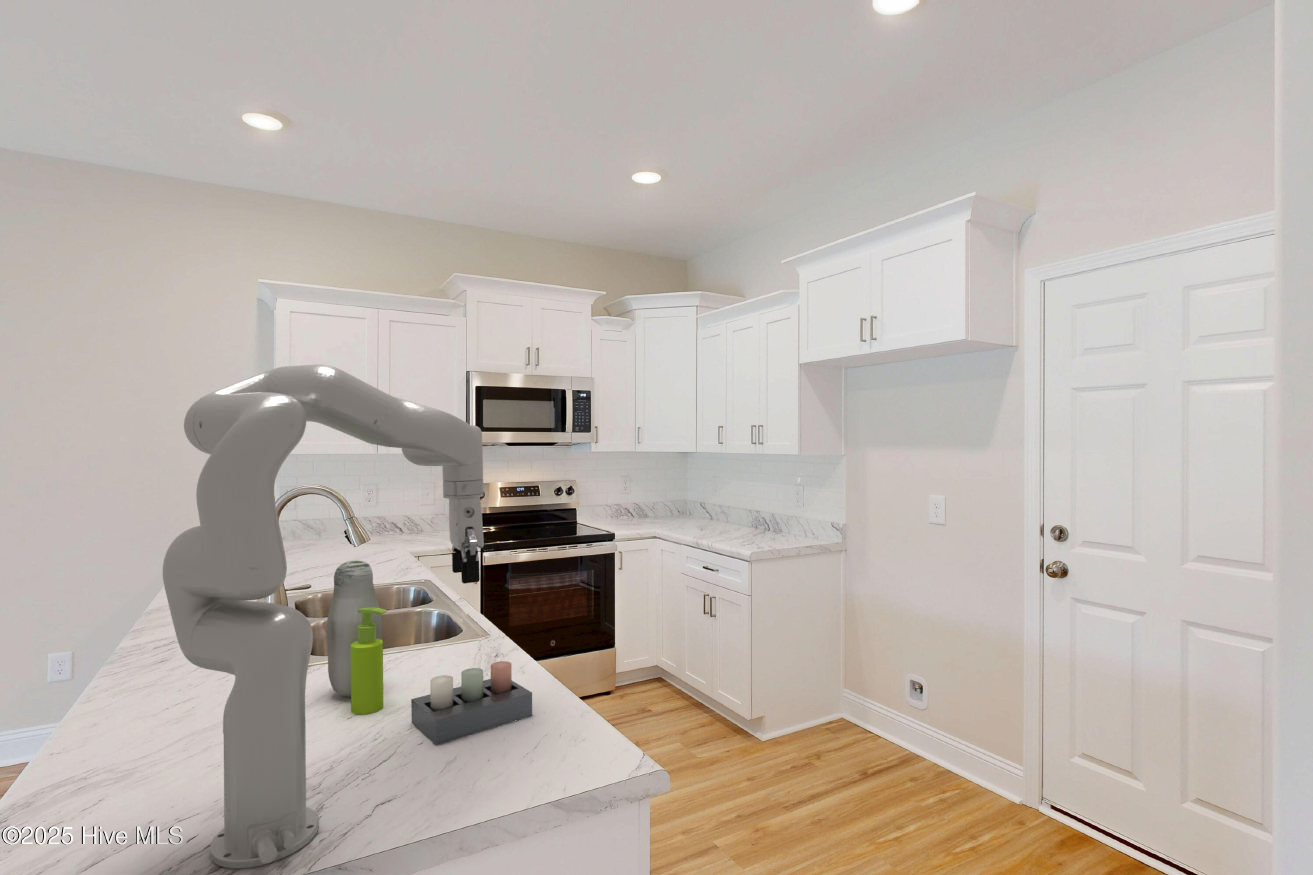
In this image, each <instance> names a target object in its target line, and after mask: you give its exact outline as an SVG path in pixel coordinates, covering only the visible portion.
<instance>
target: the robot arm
mask: <svg viewBox="0 0 1313 875" xmlns="http://www.w3.org/2000/svg"><path fill="white" fill-rule="evenodd" d="M307 422H312V423H313V422H314V423H317V424H320V425H324V426H326V427H328V428H331V429H333V430H336V431H338V432H340V433H343V434H345V435H349V436H350V437H353V438H354V439H359V440H360V441H363V442H364V443H368V444H371V445H374V446H375V445H376V446H381V447H385V448H398V449H401V452H402V454H403V457H404V458H405V459H406V460H407V461H408V462H410V463H412V464H413V465H416V466H422V467H442V469H441V470H442V494H443V495H442V497H443V499H448V520H449V522H448V526H449V528H448V530H449V540H450V543H451V545H452V548H451V549H452V553H451V566H452V568H451V569H452V573H454V574H455V573H456V574H459V573H461V583H462V584H471V583H478V582H480V559H479V558H480V556H479V551H478V550H479V549H482V548H483V547H484V544H485V542H484V541H485V540H484V528H483V513H482V505H481V504H482V503H481V497H484V494H485V493H484V461H483V460H484V458H483V456H484V455H483V453H484V452H483V451H484V450H483V433H482V432H483V431H482V430H481V428H480V427H479V426H477V425H470V424H469V423H468V422H467V421H464V420H463V419H461V418H459V417H457V416H455V415H453V414H451V413H450V412H446V411H443V410H440V409H437V408H434V407H430V406H427V405H423V404H419V403H417V402H413V401H411V400H407V399H403V398H399V397H396V396H393V395H390V394H388V393H386V392H384V391H383V390H380V389H378V388H377V387H374V386H373V385H371V384H369V383H367V382H365V381H363V380H361V379H360V378H358V377H355V376H353V375H351V374H350V373H348V372H346V371H344V370H342V369H340V368H338V367H335V366H331V365H326V364H304V365H303V364H302V365H287V366H280V367H276V368H273V369H272V368H271V369H270V370H269V369H268V370H266V371H264V372H261V373H258V374H256V375H254V376H251V377H249V378H247V379H244V380H243V379H242V380H241V381H239V382H236V383H233V384H231V385H228V386H226V387H223V388H220V389H217V390H215V391H212V392H211V393H207V394H206V395H204V396H202V397H200V398H199V399H197V400H196V401H195V402H193V404H192V405H191V406H190V407H189V409H188V410H187V411H186V414H185V417H184V421H183V430H184V434H185V437H186V439H187V441H188V442H189V443H190V444H191V445H192V446H193V447H194V448H195V449H197V450H198V451H200V452H203V453H204V454H208V455H209V457H208V459H207V460H206V462H205V464H203V465H204V466H203V467H202V469H201V472H200V474H199V476H198V480H197V484H196V493H195V496H196V507H197V511H198V518H199V525H197V526H193V527H191V528H188V529H186V530H184V531H183V532H181V533H180V534H179V535H178V536H176V537H175V539H174V540H173V541H172V542H171V544H170V545H169V546H168V549H167V550H166V552H165V555H164V559H163V564H162V580H163V585H164V591H165V594H166V598H167V604H168V608H169V611H170V616H171V620H172V625H173V627H174V633H175V637H176V640H177V643H178V645H179V648H180V650H181V653H182V655H183V656H184V657H185V659H186V660H188V662H189V663H191V664H192V665H194V666H196V667H198V668H201V669H206V670H210V671H216V672H221V673H226V674H229V675H234V677H235V678H234V679H235V680H234V682H233V685H232V689H231V691H230V693H229V695H228V696H227V699H226V703H225V705H224V709H223V710H224V711H223V716H222V717H223V719H222V733H223V810H224V811H223V816H224V820H223V827H224V828H222V829H221V830H220V831H219V832H218V833H216V835H215V836H214V837H213V839H212V841H211V842H210V847H209V857H210V859H211V861H212V862H213V863H215V864H216V865H217V866H220V867H224V868H227V869H228V868H229V869H247V868H254V867H255V868H256V867H258V866H263V865H267V864H271V863H273V862H276V861H279V860H281V859H283V858H286V857H288V856H290V855H292V854H294V853H296V852H297V851H299V850H300V849H302V848H304V846H306V845H307V844H308V843H310V841H311V840H312V839H313V838H314V837H315V836H316V834H317V832H318V831H319V830H318V829H319V827H320V826H319V825H320V824H319V823H320V822H319V821H320V820H319V819H320V818H319V814H318V813H317V812H316V811H315V810H314V809H312V808H310V807H307V766H306V763H307V762H306V761H307V760H306V759H307V758H306V757H307V756H306V753H307V752H306V750H307V748H306V746H307V745H306V744H307V743H306V742H307V741H306V740H307V739H306V738H307V735H306V732H307V731H306V730H307V729H306V689H307V688H306V685H307V677H308V676H307V675H308V669H309V664H310V658H311V655H312V654H311V653H312V649H313V644H314V632H313V628H312V624H311V623H310V621H309V619H308V618H307V616H306V615H305V614H303V613H302V612H301V611H300V610H298V609H296V608H295V607H292V606H288V605H286V604H280V603H275V602H274V603H273V602H265V601H264V602H263V601H257V600H262V599H265V598H269V597H270V596H272V595H273V594H275V593H276V592H278V591H279V589H281V587H282V586H283V584H284V582H285V580H286V577H287V571H288V569H287V568H288V567H287V558H286V557H287V556H286V552H285V546H284V541H283V536H282V531H281V527H280V521H279V516H278V511H277V506H276V504H277V503H276V497H275V484H276V479H277V476H278V473H279V471H280V469H281V467H282V466H283V464H284V462H285V460H286V459H287V458H288V456H289V455H290V454H291V452H292V451H293V450H294V449H295V448H296V447H297V445H298V444H299V443H300V441H301V440H302V438H303V436H304V435H305V431H306V428H307V427H306V426H307Z"/></svg>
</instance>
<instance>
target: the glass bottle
mask: <svg viewBox="0 0 1313 875" xmlns="http://www.w3.org/2000/svg"><path fill="white" fill-rule="evenodd" d="M369 607H376V608H381V607H380V603H379V601H378V598H377V594H376V590H375V586H374V574H373V569H372V567H371V565H370V564H369V563H368V562H367V561H364V560H350V561H346V562H344V563H342V564H340V565H338V566H337V568H336V570H335V571H334V575H333V593H332V598H331V601H330V606H329V609H328V610H329V611H328V614H327V620H326V637H327V638H326V639H327V640H326V643H327V673H328V674H327V675H328V679H329V683H330V685H331V688H332V690H333V691H334V692H335V693H336V694H337V695H339V696H341V697H348V698H349V697H350V698H351V644H352V643H354V642H356V641H358V626H359V625H360V624H362V613H358V610H359V609H362V608H369ZM382 618H383V617H382V614H381V615H379V614H375V613H371V622H372V623H374V624H376V639H381V640H382V641H383V639H382V638H383V637H382V636H383V635H382V634H383V628H382V627H383V625H382V624H383V620H382Z"/></svg>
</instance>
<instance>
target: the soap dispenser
mask: <svg viewBox="0 0 1313 875" xmlns="http://www.w3.org/2000/svg"><path fill="white" fill-rule="evenodd" d="M387 612H388V610H387V609H385V608H381V607H380V608H376V607H369V608H362V609H359V610H358V613H362V624H360V625H359V626H358V641H356V642H354V643H352V644H351V697H350V702H351V703H350V708H351V710H350V711H351V713H352V714H354V715H358V716H359V715H369V714H374V713H376V712H379V711H381V710H382V709H383V708H384V641H383V639H382V640H381V639H376V624H374V623H372V622H371V613H375V614H379V615H381V616H382V615H383V614H386V613H387Z"/></svg>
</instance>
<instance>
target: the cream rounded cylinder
mask: <svg viewBox="0 0 1313 875" xmlns="http://www.w3.org/2000/svg"><path fill="white" fill-rule="evenodd" d="M429 683H430V684H429V685H430V686H429V687H430V689H429V690H430V692H429V693H430V708H431V709H432V710H436V711H439V710H443V709H446V708H450V707H452V706H453V688H454V677H453V676H452V675H446V674H445V675H438V676H434V677H431V679H430V682H429Z"/></svg>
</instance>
